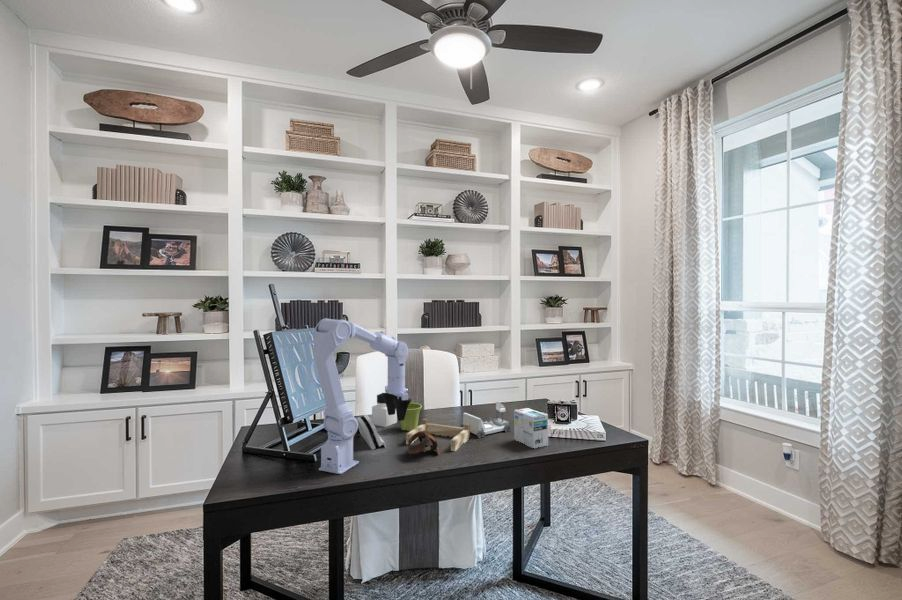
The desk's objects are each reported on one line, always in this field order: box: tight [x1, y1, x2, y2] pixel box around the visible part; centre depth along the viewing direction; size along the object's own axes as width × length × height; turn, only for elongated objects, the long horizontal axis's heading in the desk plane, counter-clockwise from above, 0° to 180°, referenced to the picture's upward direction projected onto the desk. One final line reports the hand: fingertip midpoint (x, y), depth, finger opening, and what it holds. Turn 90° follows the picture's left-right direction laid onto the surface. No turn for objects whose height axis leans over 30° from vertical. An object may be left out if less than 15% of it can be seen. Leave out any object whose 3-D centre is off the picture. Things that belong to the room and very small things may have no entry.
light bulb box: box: [513, 407, 549, 449], centre depth 155 cm, size 11×7×11 cm, turn 31°
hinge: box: [356, 414, 387, 450], centre depth 156 cm, size 17×5×10 cm, turn 24°
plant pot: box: [400, 402, 423, 432], centre depth 170 cm, size 9×9×9 cm
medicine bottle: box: [371, 391, 398, 428], centre depth 177 cm, size 7×7×12 cm
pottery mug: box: [407, 430, 440, 456], centre depth 145 cm, size 12×10×8 cm
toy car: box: [459, 401, 512, 439], centre depth 169 cm, size 18×10×12 cm
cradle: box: [405, 418, 471, 452], centre depth 156 cm, size 14×18×5 cm
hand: (396, 417), depth 150 cm, fingers open, 7 cm apart
